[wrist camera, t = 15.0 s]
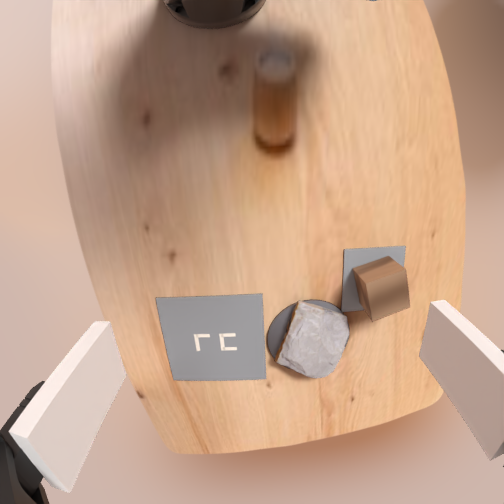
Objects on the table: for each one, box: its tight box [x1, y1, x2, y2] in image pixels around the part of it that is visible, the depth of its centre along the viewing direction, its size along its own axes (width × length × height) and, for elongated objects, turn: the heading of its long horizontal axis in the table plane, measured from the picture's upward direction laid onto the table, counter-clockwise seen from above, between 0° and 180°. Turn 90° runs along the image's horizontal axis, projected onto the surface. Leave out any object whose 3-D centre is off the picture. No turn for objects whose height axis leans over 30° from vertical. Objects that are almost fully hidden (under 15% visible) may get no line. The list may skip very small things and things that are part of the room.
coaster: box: [268, 300, 349, 369], centre depth 47 cm, size 13×13×1 cm
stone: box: [275, 301, 349, 378], centre depth 45 cm, size 10×12×4 cm
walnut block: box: [353, 256, 410, 322], centre depth 42 cm, size 6×6×6 cm
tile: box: [341, 246, 406, 312], centre depth 45 cm, size 10×10×1 cm
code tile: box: [156, 294, 266, 381], centre depth 48 cm, size 16×16×1 cm
